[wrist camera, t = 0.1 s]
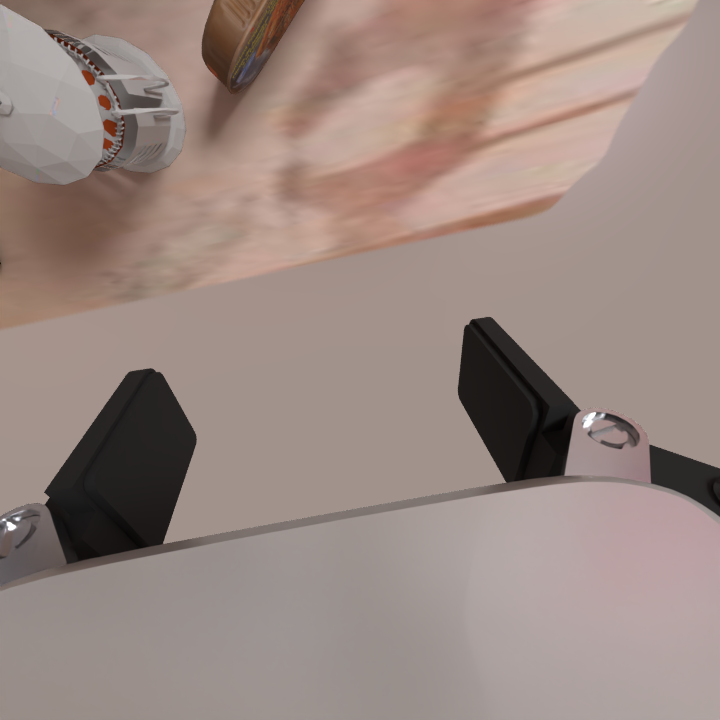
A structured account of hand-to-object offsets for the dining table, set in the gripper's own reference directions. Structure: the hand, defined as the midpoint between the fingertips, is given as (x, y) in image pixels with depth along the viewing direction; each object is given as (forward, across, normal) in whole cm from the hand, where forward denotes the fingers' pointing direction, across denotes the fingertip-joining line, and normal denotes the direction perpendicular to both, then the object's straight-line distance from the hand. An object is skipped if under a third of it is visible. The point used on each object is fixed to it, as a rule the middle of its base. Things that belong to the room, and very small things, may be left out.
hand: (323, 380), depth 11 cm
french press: (+31, +14, -9) cm, 35 cm away
